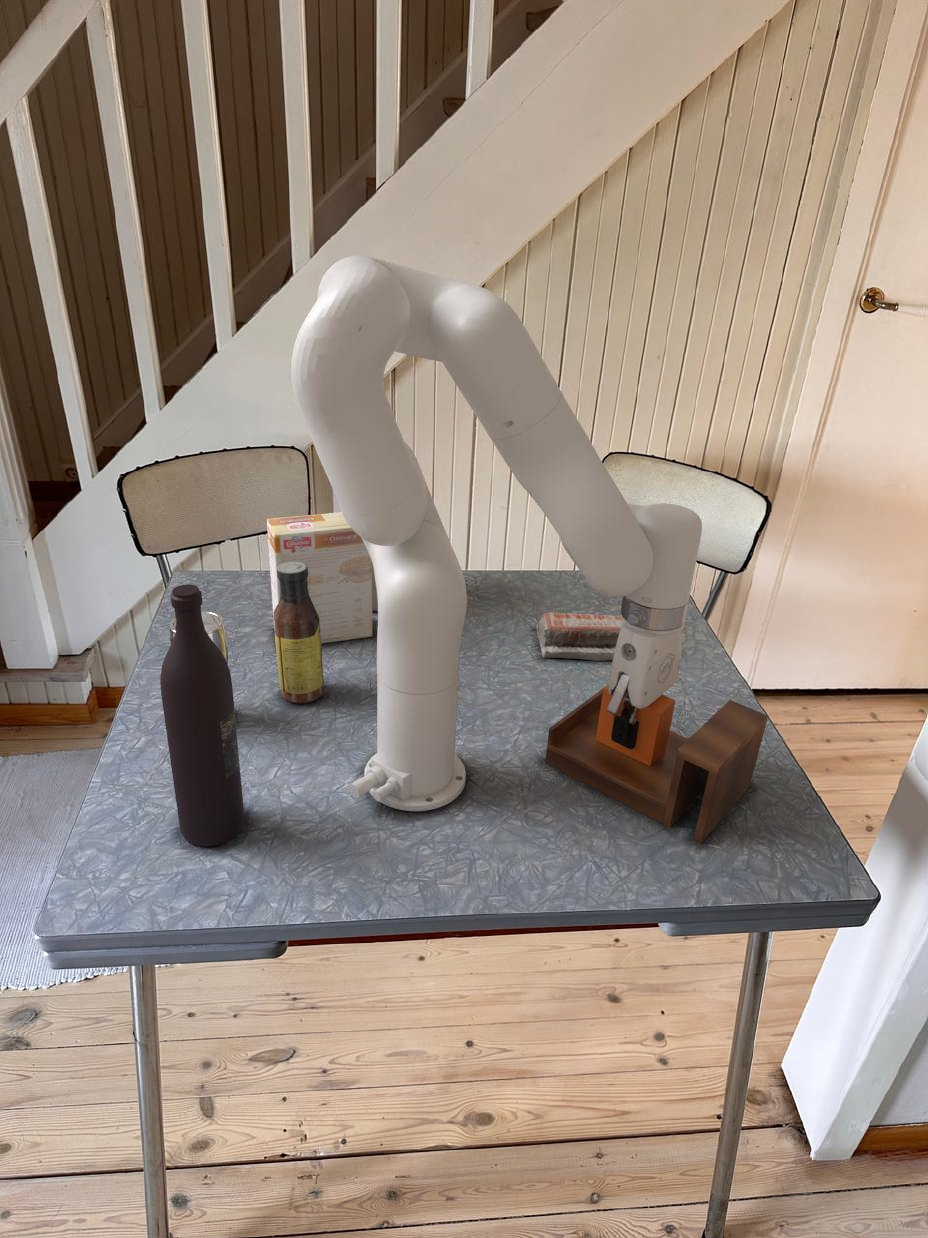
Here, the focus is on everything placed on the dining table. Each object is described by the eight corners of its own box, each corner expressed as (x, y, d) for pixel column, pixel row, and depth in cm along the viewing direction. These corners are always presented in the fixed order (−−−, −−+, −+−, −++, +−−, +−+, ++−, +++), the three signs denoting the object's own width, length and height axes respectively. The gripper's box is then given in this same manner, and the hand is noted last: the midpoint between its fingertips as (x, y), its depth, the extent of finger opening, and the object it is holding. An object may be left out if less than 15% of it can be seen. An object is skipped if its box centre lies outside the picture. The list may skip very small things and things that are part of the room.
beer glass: (217, 699, 118) (207, 604, 111) (244, 721, 114) (235, 624, 107) (171, 718, 114) (157, 620, 107) (197, 741, 109) (185, 641, 102)
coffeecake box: (362, 617, 142) (361, 508, 133) (373, 637, 136) (373, 525, 127) (272, 629, 137) (265, 516, 128) (280, 650, 131) (273, 534, 122)
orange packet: (650, 766, 105) (660, 713, 101) (595, 740, 109) (603, 688, 105) (665, 752, 107) (676, 700, 104) (611, 727, 112) (619, 676, 108)
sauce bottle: (332, 694, 121) (329, 568, 111) (297, 711, 117) (290, 582, 107) (304, 676, 125) (298, 553, 115) (269, 692, 120) (260, 566, 111)
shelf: (700, 844, 97) (719, 768, 92) (544, 762, 109) (553, 691, 104) (749, 787, 107) (768, 715, 102) (601, 718, 119) (611, 651, 114)
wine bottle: (240, 847, 93) (217, 606, 79) (174, 849, 92) (139, 606, 78) (248, 805, 99) (227, 574, 85) (186, 807, 98) (155, 574, 84)
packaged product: (544, 633, 130) (537, 604, 139) (541, 659, 132) (535, 629, 141) (659, 636, 131) (645, 607, 140) (654, 662, 133) (640, 632, 142)
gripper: (647, 645, 91) (624, 779, 100) (714, 596, 103) (688, 720, 111) (588, 622, 95) (571, 753, 104) (659, 577, 107) (638, 698, 115)
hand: (632, 734), depth 107 cm, fingers closed on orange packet, 4 cm apart
